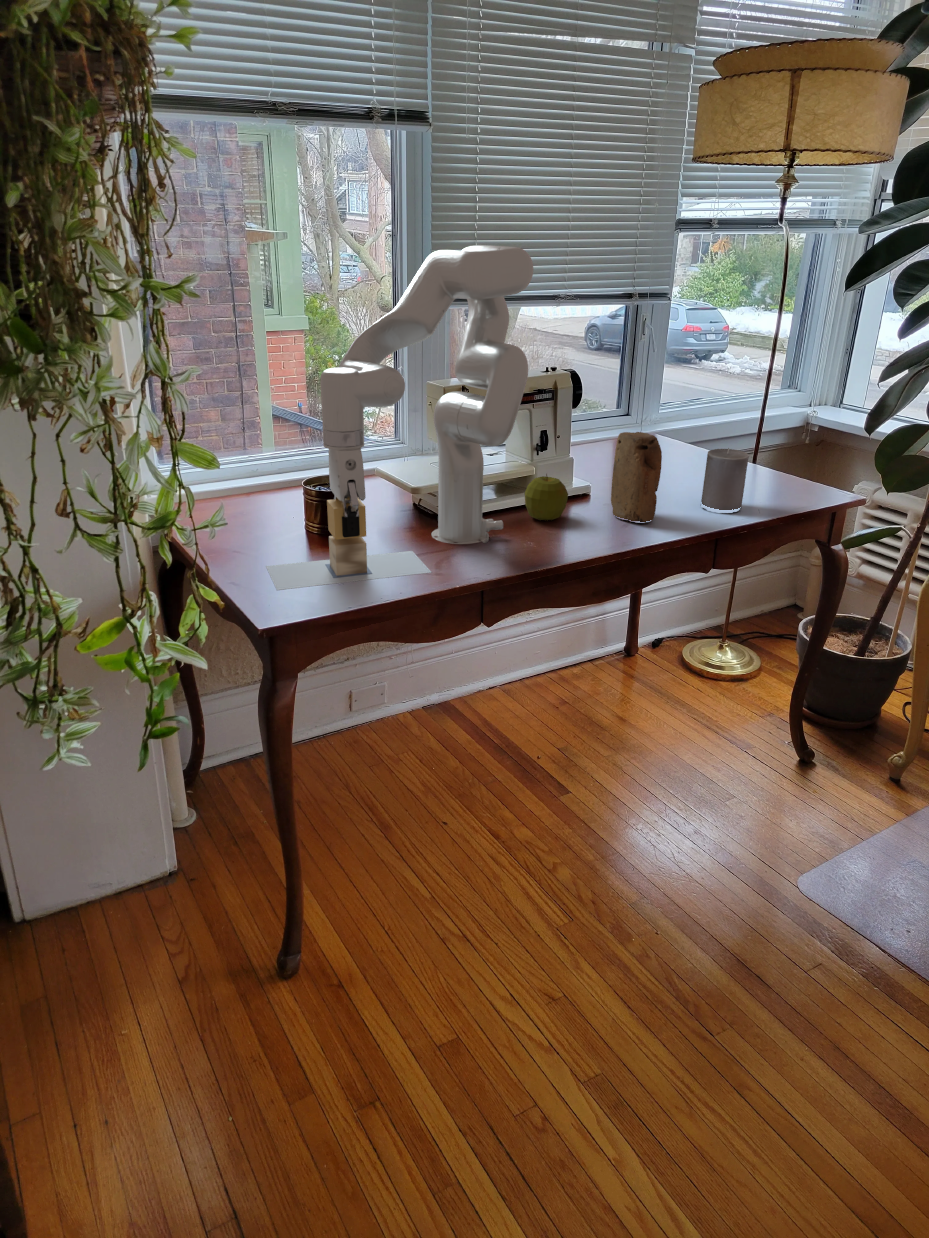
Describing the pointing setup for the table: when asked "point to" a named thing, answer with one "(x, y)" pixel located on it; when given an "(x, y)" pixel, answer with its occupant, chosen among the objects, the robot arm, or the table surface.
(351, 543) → the maple cube
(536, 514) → the apple
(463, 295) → the robot arm
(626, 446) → the block
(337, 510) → the ochre cube
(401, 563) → the board
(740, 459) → the pillar candle
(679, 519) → the table surface
